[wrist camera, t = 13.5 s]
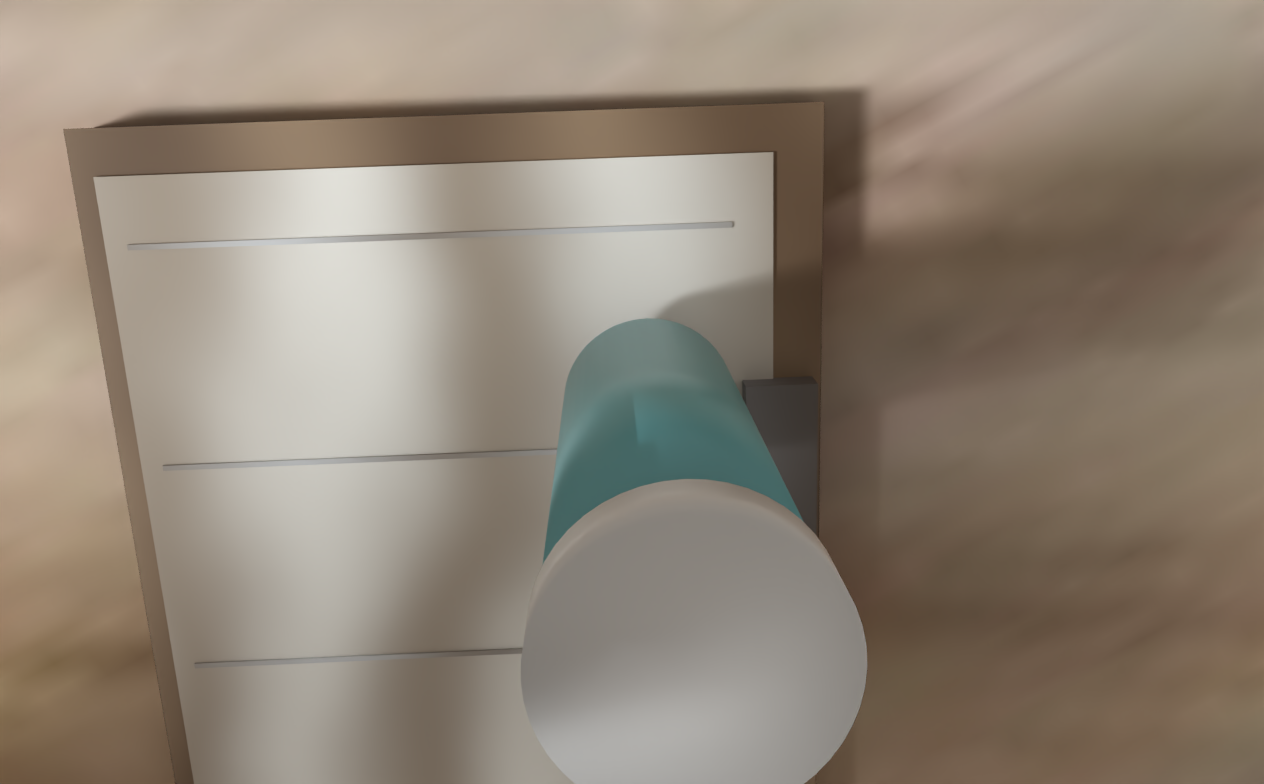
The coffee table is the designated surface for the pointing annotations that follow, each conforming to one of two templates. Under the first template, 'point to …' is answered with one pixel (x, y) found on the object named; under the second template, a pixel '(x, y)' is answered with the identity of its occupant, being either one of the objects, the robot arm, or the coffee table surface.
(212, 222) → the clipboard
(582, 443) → the cylinder
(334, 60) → the coffee table surface
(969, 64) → the coffee table surface
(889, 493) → the coffee table surface
